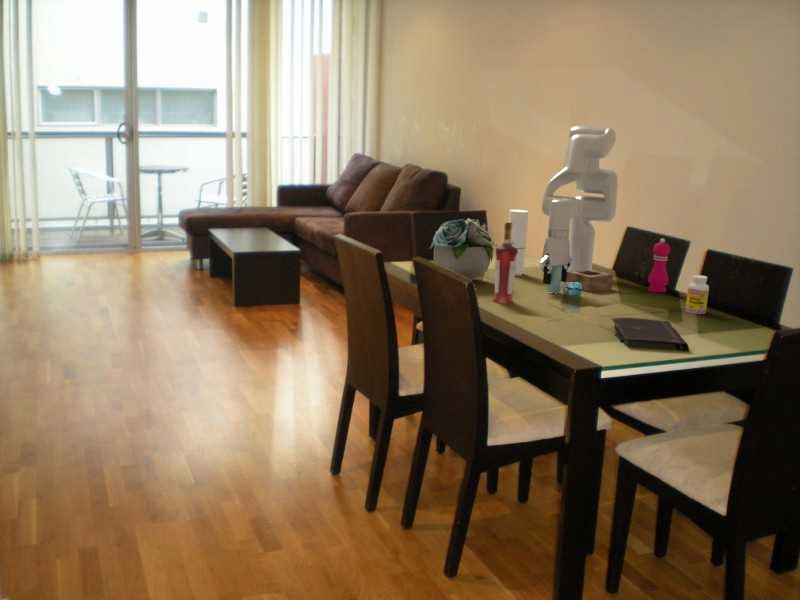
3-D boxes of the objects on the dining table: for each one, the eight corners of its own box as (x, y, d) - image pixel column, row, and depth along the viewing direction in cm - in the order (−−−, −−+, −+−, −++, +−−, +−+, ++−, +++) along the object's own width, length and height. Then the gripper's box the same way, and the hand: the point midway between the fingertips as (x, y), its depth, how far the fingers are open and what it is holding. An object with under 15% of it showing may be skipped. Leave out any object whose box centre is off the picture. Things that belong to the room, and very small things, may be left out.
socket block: (565, 287, 339) (566, 271, 338) (586, 284, 347) (587, 268, 345) (590, 293, 330) (592, 277, 329) (611, 290, 338) (613, 274, 336)
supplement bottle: (684, 314, 305) (688, 277, 302) (685, 310, 311) (689, 273, 308) (705, 317, 303) (709, 279, 300) (706, 312, 309) (710, 275, 306)
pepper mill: (662, 294, 334) (668, 240, 329) (643, 291, 338) (649, 238, 334) (670, 291, 340) (676, 238, 335) (651, 288, 344) (657, 236, 339)
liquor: (493, 301, 312) (498, 220, 305) (514, 303, 310) (520, 221, 304) (490, 306, 305) (496, 223, 298) (512, 308, 303) (518, 224, 297)
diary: (669, 335, 279) (671, 319, 277) (688, 359, 254) (690, 342, 253) (607, 332, 280) (609, 316, 279) (620, 355, 255) (622, 338, 254)
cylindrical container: (510, 271, 365) (515, 209, 359) (526, 274, 361) (531, 211, 355) (501, 273, 359) (506, 210, 353) (517, 276, 355) (522, 212, 349)
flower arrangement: (501, 290, 329) (506, 223, 324) (434, 290, 325) (437, 222, 319) (484, 276, 353) (488, 213, 348) (421, 275, 349) (424, 212, 343)
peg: (544, 292, 329) (547, 265, 327) (553, 291, 332) (555, 264, 330) (554, 294, 326) (556, 267, 324) (562, 293, 329) (564, 266, 327)
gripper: (566, 230, 333) (562, 278, 337) (534, 234, 322) (530, 283, 326) (582, 234, 327) (578, 282, 331) (550, 237, 316) (546, 287, 320)
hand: (554, 282), depth 328 cm, fingers open, 7 cm apart
